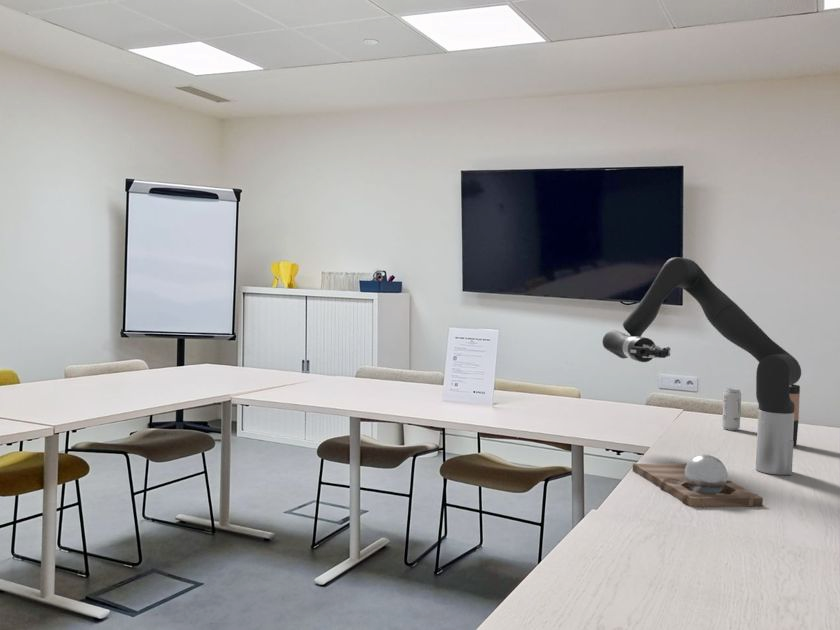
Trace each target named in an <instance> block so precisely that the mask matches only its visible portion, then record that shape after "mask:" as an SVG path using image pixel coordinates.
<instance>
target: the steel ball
mask: <svg viewBox="0 0 840 630" xmlns="http://www.w3.org/2000/svg"><path fill="white" fill-rule="evenodd" d="M686 464H687V465H686V468H685V480H686V482H687V484H688V486H689V487H690V488H691V489H690V490H691V491H695V492H701V493H706V494H719V493H721V492H720V491H721V490H722V489H723V488H724V487H725V485H726V483H727V480H728V471H727V468H726V466H725V464H724V463H723V462H722V461H721V460H720V459H719V458H718V457H716V456H714V455H711V454H699V455H696V456H694V457H692V458H690V460H689V461H688V462H687V463H686Z"/></svg>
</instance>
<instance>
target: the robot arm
mask: <svg viewBox="0 0 840 630" xmlns="http://www.w3.org/2000/svg"><path fill="white" fill-rule="evenodd" d="M676 288H680V289H683V290H684V291H686V292H687V293H688V294H689V295H690V296H692V297H693V298H694V299H695V301H697V303H698V304H699V305H700V307H701V309H702V311H703V314H704V315H705V317H706V319H707V321H708V322H709V323H710V324H711V325H712V326H713V328H715V330H716V331H717V332H719V334H720V335H721V336H722V337H724V338H725V339H726V340H728V341H730V342H731V344H734V345H735V346H737V347H739V348H740V349H742V350H744V351H745V352H748V354H750V355H751V356H752V357H753V358H754V359H755V360H756V361H757V362H758V364H757V368H756V375H755V377H756V378H755V380H756V381H755V388H756V390H755V391H756V393H755V395H756V396H755V397H756V400H757V404H758V411H757V412H758V414H757V433H756V435H757V436H756V449H755V451H756V453H755V454H756V455H755V470H756V471H758V472H760V473H764V474H770V475H780V476H785V475H786V476H787V475H789V476H793V461H794V457H793V456H794V446H793V443H794V442H793V429H794V410H795V405H794V402H793V401H791V399H790V396H789V386H790V385H793V384H794V385H796V384H797V382H799V381H800V379H801V376H802V368H801V365H800V363H799V361H798V360H797V359H796V357H794V356H793V355H792V354H791V353H789V352H788V351H786V350H785V349H784V348H782V346H780V345H779V344H777V343H776V342H775V341H774V340H773V339H771V338H770V337H769V335H767V333H765V331H764V330H763V329H762V328H761V327H760V326H759V325H758V324H756V322H755V321H754V320H753V319H752V318H751V317H750V316H749V315H748V314H747V313H746V312H745V311H744V309H742V308H741V307H740V306H739V305H738V304H737V303H735V301H733V300H732V299H731V298H730V297H729V296H728V295H727V294H726V293H725V292H723V291H722V290H721V289H720V288H719V287H717V285H715V283H714V282H713V281H712V280H711V279H710V277H708V275H707V273H705V272H704V270H703V269H702V267H701V266H700V265H699V264H698V263H697V262H695V261H694V260H693V259H689V258H684V257H679V256H678V257H677V256H675V257H671V258H669V259H668V260H666V262H665V263H664V264H663V266H662V268H661V269H660V270H659V273H658V274H657V276H656V277H655V279H654V280H653V282H652V284H651V286H650V287H649V289H648V290H647V292H646V293H645V295H644V296H643V298H642V299H641V301H639V303H638V305H637V306H636V307H635V308H634V309H633V310H632V312H631V313H629V315H628V316H627V317H626V319H625V320H624V321H623V323H622V326H623V329H624V330H625V331H626V333H628V334H629V335H627V334H625V333H623V332H621V331H619V330H616V329H612V330H609V331H607V332H606V333H605V334H604V336H603V337H602V346H603V348H604V349H605V350H606V351H609V352H610V353H611V354H613V355H615V356H617V357H618V358H620V359H630V360H632V361H637V362H640V363H648V362H650V361H652V360H653V359H654V358H655V359H659V358H660V359H666V357H670V356H671V347H669V346H668V347H663V348H661V347H660V345H656V344H655V342H654V341H653V340H652V339H651V338H648V337H644V336H642V335H643V334H644V333H645V331H646V330H647V329H648V328H649V327H650V325H651V324H652V323H653V322H654V321H655V319H656V318H657V316H658V313H659V311H660V309H661V306H662V304H663V302H664V301H665V300H666V298H667V297H668V295H669V294H670V293H672V292H673V291H674V290H676Z"/></svg>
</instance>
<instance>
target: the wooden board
mask: <svg viewBox="0 0 840 630" xmlns="http://www.w3.org/2000/svg"><path fill="white" fill-rule="evenodd" d="M687 464H688V463H632V471H633V472H634V473H635V474H637V475H639V476H640V477H642V478H644V479H646V480H647V481H649V482H650V483H652V484H654V485H655V486H656V487H659V489H660V490H661V491H662V490H663V491H665V492H667V494H670V495H672V496H673V497H675V498H676V499H678V500H679V501H681V502H682V504H685V505H687V506H689V507H691V508H693V507H694V508H695V507H697V508H698V507H701V508H705V507H750V508H751V507H752V508H753V507H763V502H764V498H763V497H762V496H761V495H759V494H758V493H754V492H752V491H750V490H748V489H746V488H744V487H742V486H740V485H738V484H736V483H734V482H733V481H732V480H728V479H727V483H726V485H725V487H724V488H723V489H722V490H721V491H720V492H719V493H720V494H719V493H717V494H706V493H701V492H695V491H693V490H692V489H691V488H690V487H689V486H688V484H687V482H686V480H685V468H686V465H687ZM721 493H722V494H721ZM723 493H725V494H723Z"/></svg>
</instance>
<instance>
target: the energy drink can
mask: <svg viewBox="0 0 840 630" xmlns="http://www.w3.org/2000/svg"><path fill="white" fill-rule="evenodd" d="M722 395H723V398H722V399H723V401H722V417H721V420H722V421H721V426H722V427H723V430H725V429H728V430H727V431H732V430H737V431H739V429H740V427H741V411H742V410H741V409H742V408H741V407H742V406H741V405H742V393H741V389H740V388H737V387H736V388H735V387H726V388H725V390H724V391H723V394H722Z"/></svg>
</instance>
